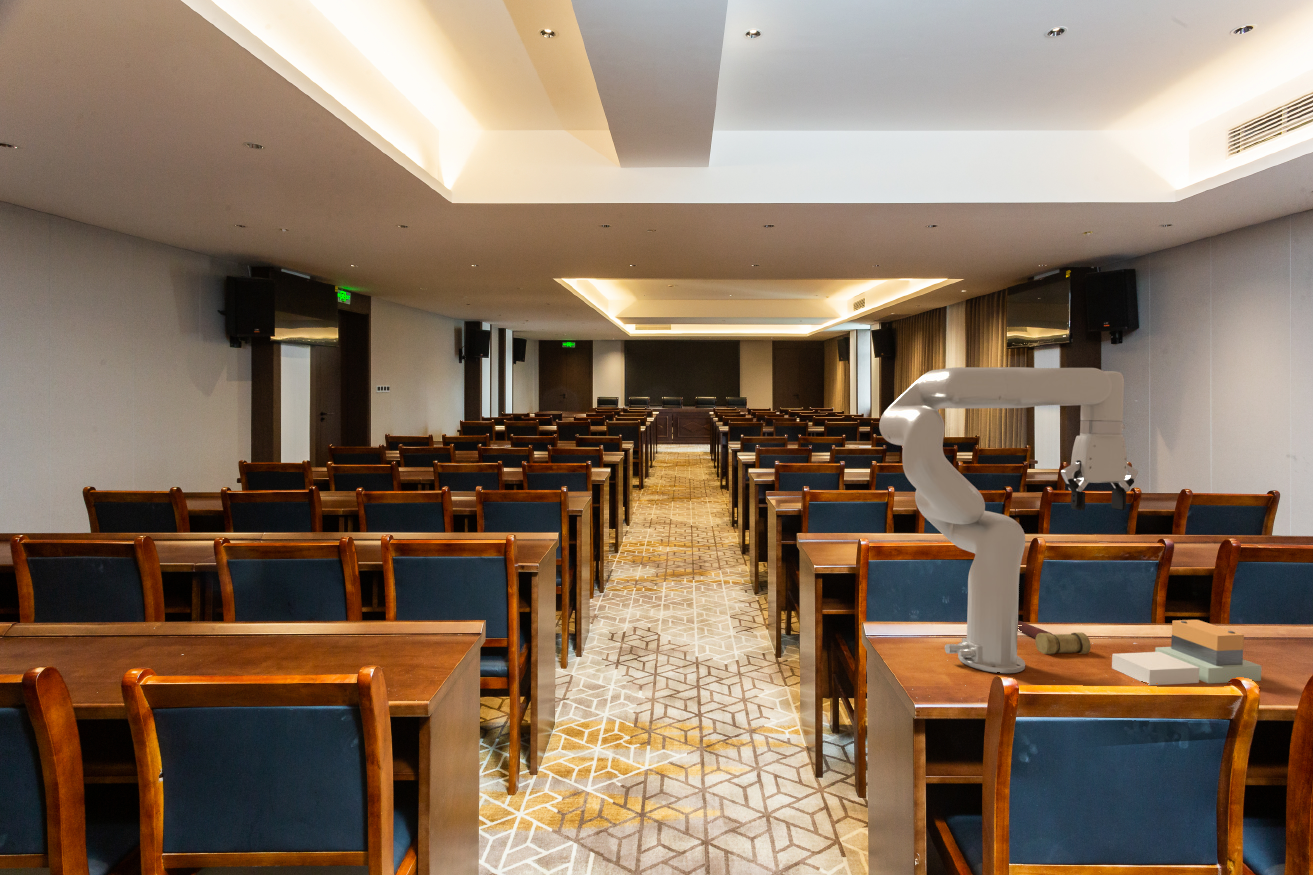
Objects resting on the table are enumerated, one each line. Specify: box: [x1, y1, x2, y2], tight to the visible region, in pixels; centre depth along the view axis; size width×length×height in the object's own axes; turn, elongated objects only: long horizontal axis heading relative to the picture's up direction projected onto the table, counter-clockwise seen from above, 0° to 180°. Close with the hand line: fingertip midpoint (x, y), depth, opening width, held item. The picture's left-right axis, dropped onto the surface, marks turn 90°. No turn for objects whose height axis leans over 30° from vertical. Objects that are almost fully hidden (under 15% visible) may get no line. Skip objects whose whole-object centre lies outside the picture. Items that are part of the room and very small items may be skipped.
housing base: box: [1170, 634, 1244, 666], centre depth 140 cm, size 10×6×3 cm, turn 8°
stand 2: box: [1154, 646, 1262, 684], centre depth 140 cm, size 12×12×3 cm
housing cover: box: [1171, 619, 1245, 651], centre depth 139 cm, size 10×6×3 cm, turn 8°
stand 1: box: [1111, 651, 1200, 686], centre depth 137 cm, size 11×9×3 cm
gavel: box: [1018, 620, 1092, 655], centre depth 158 cm, size 21×5×10 cm
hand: (1098, 509), depth 145 cm, fingers open, 9 cm apart
